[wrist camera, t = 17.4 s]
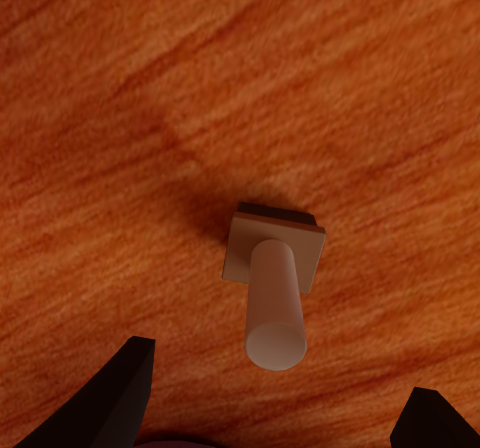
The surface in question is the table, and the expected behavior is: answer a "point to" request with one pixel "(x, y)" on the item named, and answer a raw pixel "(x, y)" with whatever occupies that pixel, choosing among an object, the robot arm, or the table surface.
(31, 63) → the table surface
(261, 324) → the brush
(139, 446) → the bowl
